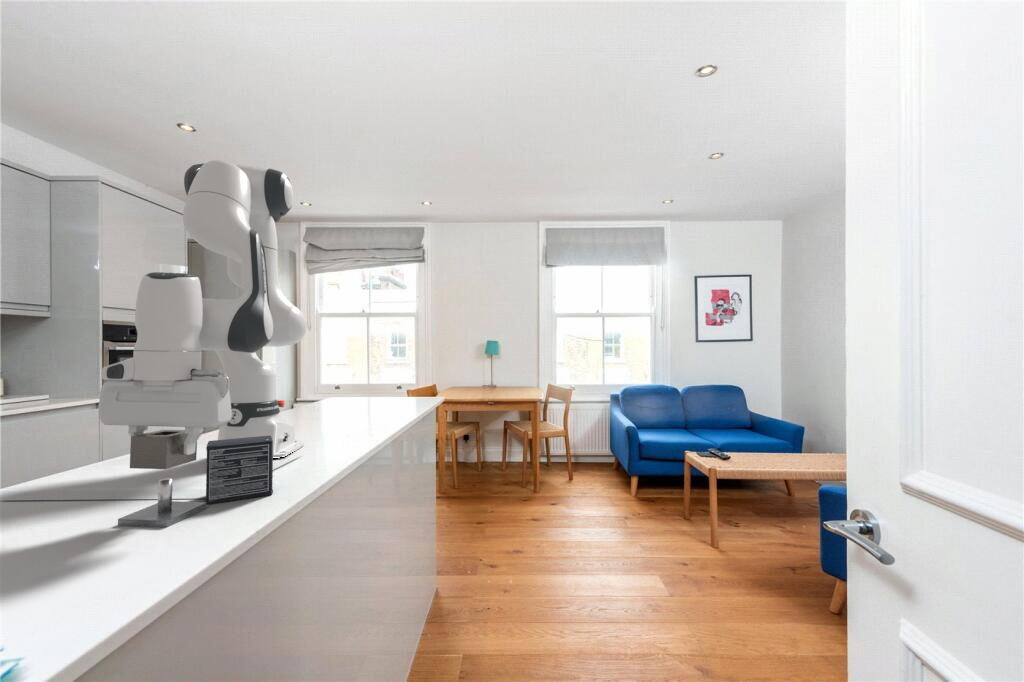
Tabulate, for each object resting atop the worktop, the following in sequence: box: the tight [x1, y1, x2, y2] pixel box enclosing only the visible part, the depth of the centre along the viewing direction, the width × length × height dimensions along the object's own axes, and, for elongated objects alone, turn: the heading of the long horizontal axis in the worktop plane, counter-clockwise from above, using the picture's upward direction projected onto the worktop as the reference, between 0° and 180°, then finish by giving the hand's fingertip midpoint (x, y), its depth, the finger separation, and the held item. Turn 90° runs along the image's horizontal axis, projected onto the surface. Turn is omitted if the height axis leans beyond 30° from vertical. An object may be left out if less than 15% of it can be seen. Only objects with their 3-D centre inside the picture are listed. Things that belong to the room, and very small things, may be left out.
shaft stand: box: [117, 477, 208, 528], centre depth 71 cm, size 8×8×6 cm
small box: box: [204, 435, 274, 506], centre depth 81 cm, size 11×6×10 cm, turn 122°
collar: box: [129, 429, 198, 470], centre depth 71 cm, size 6×6×5 cm
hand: (165, 453), depth 71 cm, fingers closed on collar, 6 cm apart
